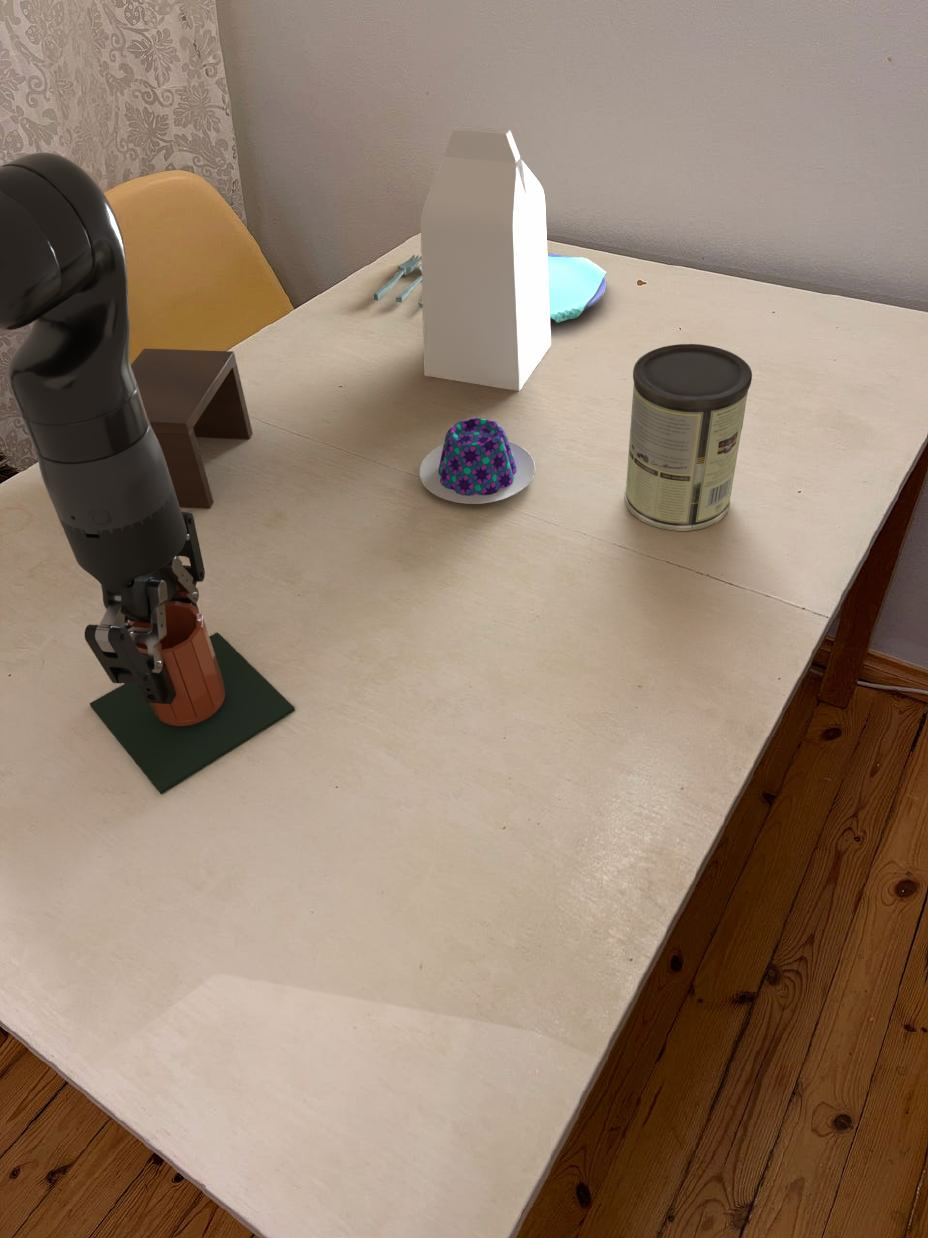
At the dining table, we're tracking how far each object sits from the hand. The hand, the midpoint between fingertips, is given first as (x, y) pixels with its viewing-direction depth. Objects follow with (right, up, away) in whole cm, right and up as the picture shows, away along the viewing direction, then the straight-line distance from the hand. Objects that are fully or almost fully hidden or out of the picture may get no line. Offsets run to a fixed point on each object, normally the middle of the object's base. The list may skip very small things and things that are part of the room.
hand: (177, 668), depth 75 cm
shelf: (-7, +20, +29) cm, 36 cm away
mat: (0, -3, +3) cm, 5 cm away
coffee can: (+43, +15, +21) cm, 50 cm away
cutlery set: (+26, +48, +56) cm, 78 cm away
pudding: (+24, +19, +25) cm, 39 cm away
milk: (+25, +35, +43) cm, 61 cm away
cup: (0, -3, +2) cm, 4 cm away
